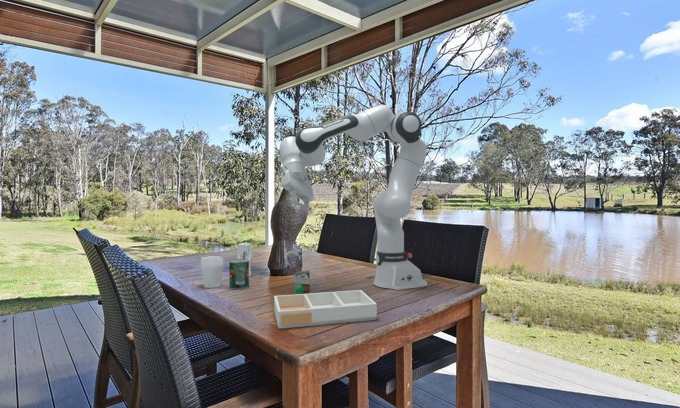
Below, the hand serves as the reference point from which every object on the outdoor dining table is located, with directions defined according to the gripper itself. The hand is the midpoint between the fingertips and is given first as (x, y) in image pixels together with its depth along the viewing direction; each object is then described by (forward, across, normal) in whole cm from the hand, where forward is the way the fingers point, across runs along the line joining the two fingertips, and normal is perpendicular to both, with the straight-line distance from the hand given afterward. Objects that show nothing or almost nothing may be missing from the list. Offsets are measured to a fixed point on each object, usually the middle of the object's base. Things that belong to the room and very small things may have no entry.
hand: (301, 205), depth 144 cm
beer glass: (+11, +27, +46) cm, 55 cm away
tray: (+43, -7, -3) cm, 43 cm away
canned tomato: (+20, +10, +39) cm, 45 cm away
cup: (+17, +7, +50) cm, 53 cm away
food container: (+35, +3, +8) cm, 36 cm away
